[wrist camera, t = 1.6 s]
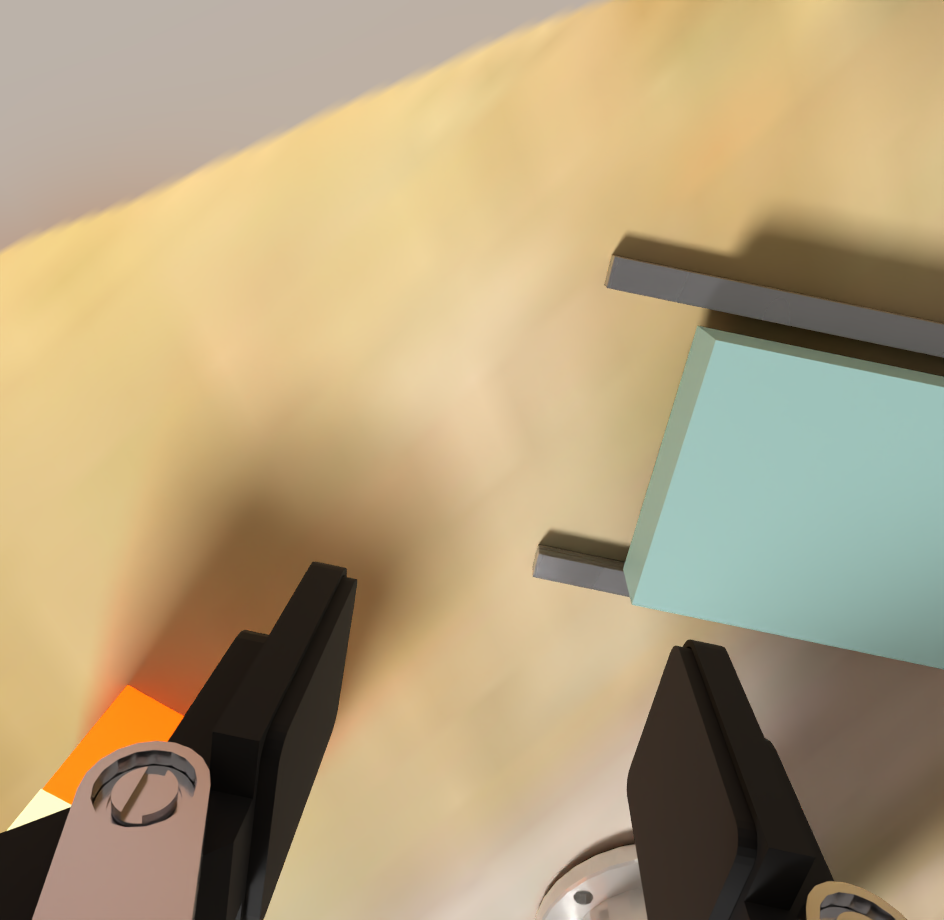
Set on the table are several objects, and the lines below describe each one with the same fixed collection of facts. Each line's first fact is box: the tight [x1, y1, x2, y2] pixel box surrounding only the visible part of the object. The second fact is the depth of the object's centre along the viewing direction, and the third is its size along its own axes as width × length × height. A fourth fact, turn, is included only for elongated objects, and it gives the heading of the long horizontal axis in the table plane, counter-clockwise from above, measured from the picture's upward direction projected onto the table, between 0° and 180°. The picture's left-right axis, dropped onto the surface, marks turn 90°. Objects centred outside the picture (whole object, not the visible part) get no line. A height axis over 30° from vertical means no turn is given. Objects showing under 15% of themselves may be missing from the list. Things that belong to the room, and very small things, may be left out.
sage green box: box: [623, 326, 944, 669], centre depth 24 cm, size 9×11×4 cm
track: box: [533, 255, 944, 597], centre depth 25 cm, size 12×26×3 cm, turn 79°
